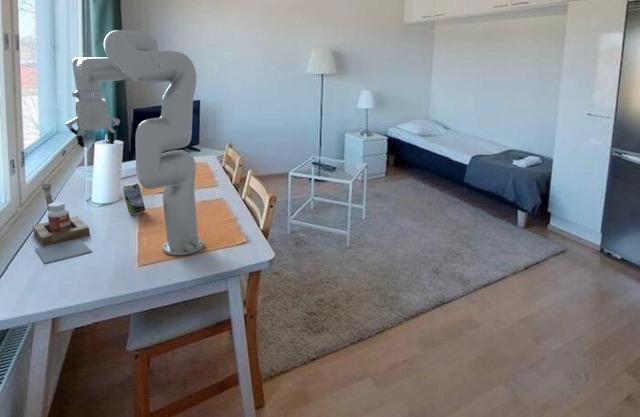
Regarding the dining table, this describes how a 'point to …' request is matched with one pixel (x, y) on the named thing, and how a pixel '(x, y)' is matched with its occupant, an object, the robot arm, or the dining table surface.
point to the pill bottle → (58, 217)
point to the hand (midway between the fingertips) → (97, 145)
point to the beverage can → (133, 198)
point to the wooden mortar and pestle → (48, 238)
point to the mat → (62, 250)
